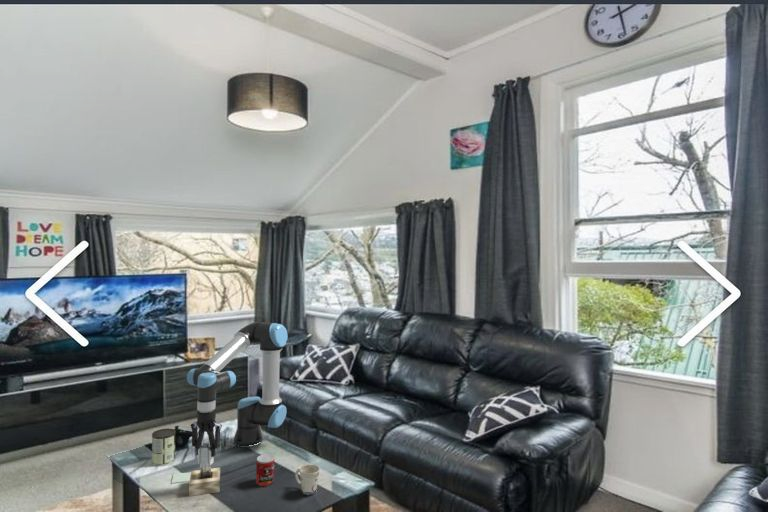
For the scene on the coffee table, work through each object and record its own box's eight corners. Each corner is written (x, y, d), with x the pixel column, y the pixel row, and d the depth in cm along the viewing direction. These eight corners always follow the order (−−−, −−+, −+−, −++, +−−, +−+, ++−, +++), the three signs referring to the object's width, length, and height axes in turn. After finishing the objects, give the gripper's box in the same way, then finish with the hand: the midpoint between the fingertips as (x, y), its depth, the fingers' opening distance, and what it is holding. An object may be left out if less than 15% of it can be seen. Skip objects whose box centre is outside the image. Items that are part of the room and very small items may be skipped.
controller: (174, 443, 246) (174, 424, 246) (195, 445, 243) (195, 426, 243) (168, 446, 242) (169, 427, 242) (189, 449, 239) (190, 430, 239)
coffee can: (159, 455, 231) (159, 427, 231) (179, 457, 230) (179, 428, 230) (146, 465, 221) (147, 435, 221) (167, 467, 220) (168, 437, 220)
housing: (219, 478, 210) (220, 467, 210) (219, 491, 199) (219, 480, 199) (191, 482, 206) (191, 471, 206) (189, 496, 195) (189, 484, 195)
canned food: (258, 488, 202) (258, 463, 202) (254, 480, 209) (254, 455, 209) (275, 484, 206) (276, 459, 206) (271, 476, 213) (271, 452, 213)
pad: (192, 472, 215) (192, 471, 215) (191, 481, 207) (191, 480, 207) (173, 475, 212) (173, 474, 212) (171, 483, 205) (171, 482, 205)
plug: (212, 476, 204) (213, 442, 204) (207, 481, 200) (208, 446, 200) (203, 475, 205) (204, 441, 205) (198, 480, 201) (198, 445, 200)
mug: (310, 499, 195) (310, 475, 194) (287, 490, 201) (288, 467, 201) (322, 490, 202) (323, 467, 202) (300, 482, 208) (301, 460, 208)
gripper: (229, 408, 204) (228, 461, 205) (192, 405, 207) (192, 457, 208) (220, 414, 197) (220, 469, 197) (182, 411, 200) (182, 465, 200)
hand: (205, 463), depth 202 cm, fingers closed on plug, 4 cm apart
